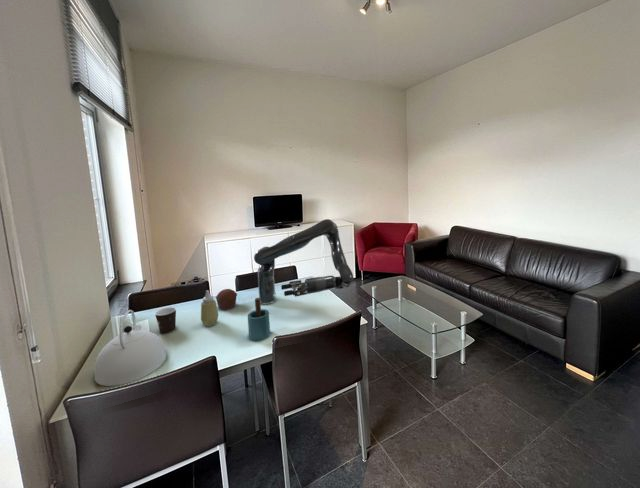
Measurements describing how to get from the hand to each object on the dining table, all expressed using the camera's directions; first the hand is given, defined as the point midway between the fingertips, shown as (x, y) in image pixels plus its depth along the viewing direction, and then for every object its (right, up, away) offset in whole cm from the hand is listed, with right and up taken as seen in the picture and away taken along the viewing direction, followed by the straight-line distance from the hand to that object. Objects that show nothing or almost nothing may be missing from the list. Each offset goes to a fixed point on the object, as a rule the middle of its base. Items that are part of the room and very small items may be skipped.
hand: (282, 290), depth 145 cm
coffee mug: (-58, -21, +2) cm, 62 cm away
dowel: (-10, -20, -2) cm, 23 cm away
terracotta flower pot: (-41, -17, +29) cm, 53 cm away
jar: (-10, -21, -2) cm, 24 cm away
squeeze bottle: (-40, -20, +9) cm, 46 cm away
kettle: (-55, -24, -23) cm, 64 cm away
